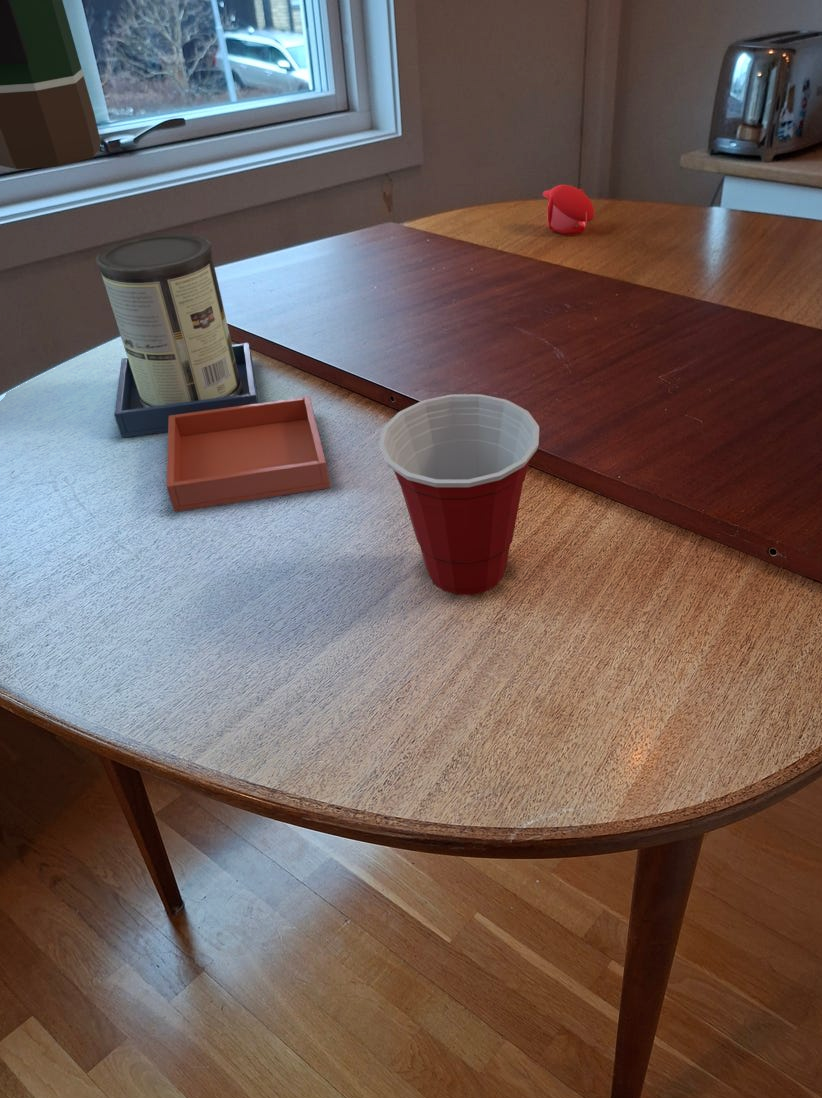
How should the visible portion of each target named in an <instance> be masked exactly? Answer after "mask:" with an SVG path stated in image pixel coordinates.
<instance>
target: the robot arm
mask: <svg viewBox="0 0 822 1098" xmlns="http://www.w3.org/2000/svg"><path fill="white" fill-rule="evenodd" d="M29 61H30V60H29V57H28V54H27V51H26V48H25V45H24V41H23V38H22V35H21V32H20V29H19V25H18V22H17V19H16V16H15V13H14V9H13V6H12V3H11V0H0V65H4V64H17V63H28V62H29Z"/></svg>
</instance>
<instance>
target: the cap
mask: <svg viewBox="0 0 822 1098" xmlns="http://www.w3.org/2000/svg"><path fill="white" fill-rule="evenodd" d="M542 196H543V197H544V198H546V199H548V203H547V207H546V208H547V209H546V210H547V211H546V221H547V228H548V229H549V230H550V231H551V232H552V233H555V232H556V233H560V234H564V235H576V234H582V233H584V232H585V231H586V229H587V226H588V223H589V222H592V221H593V219H594V217H595V208H594V205H593V203H592V201H591V199H590V198H589V197H588V195H587V194H586V193H585V191H584V190H583V189H582V188H577V187H575V186H572V185H569V184H558V185H556V186H553V187H552V188H551V189H547V190H544V191H543V192H542ZM577 225H578V226H577Z"/></svg>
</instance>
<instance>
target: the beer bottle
mask: <svg viewBox="0 0 822 1098" xmlns="http://www.w3.org/2000/svg"><path fill="white" fill-rule="evenodd" d="M11 3H12V6H13V9H14V13H15V16H16V19H17V22H18V25H19V29H20V32H21V35H22V38H23V41H24V45H25V48H26V51H27V54H28V57H29V60H30V61H29V62H28V63H17V64H4V65H0V166H1V167H4V168H5V167H6V168H9V169H13V170H27V169H39V168H40V169H41V168H53V167H62V166H65V165H71V164H74V163H77V162H81V161H84V160H89V159H94V158H95V156H96V154H97V153H98V152H99V151H100V149H101V143H102V141H101V136H100V133H99V132H100V131H99V129H98V128H99V127H98V123H97V119H96V115H95V111H94V107H93V104H92V101H91V98H90V92H89V90H88V87H87V83H86V79H85V75H84V72H83V68H82V66H81V62H80V61H81V60H80V57H79V54H78V51H77V47H76V44H75V41H74V36H73V33H72V29H71V26H70V22H69V19H68V15H67V12H66V8H65V4H64V1H63V0H11Z"/></svg>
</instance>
